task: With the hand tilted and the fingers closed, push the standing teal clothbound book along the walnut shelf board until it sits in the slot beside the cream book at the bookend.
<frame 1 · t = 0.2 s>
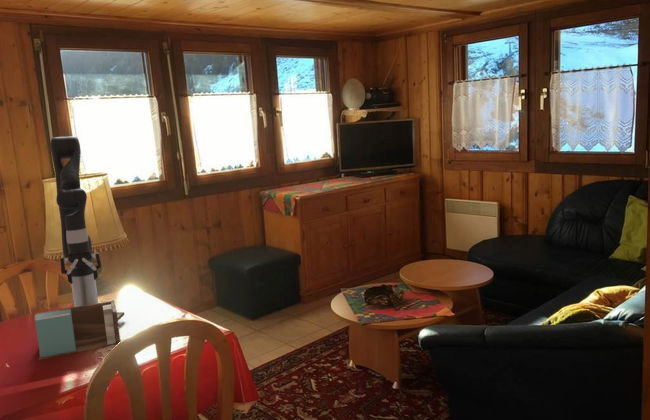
hand: (83, 281, 216), 18 cm above the table, tool pointing down, fingers open, 8 cm apart
puzzle game: (94, 328, 216), on the table
shelf: (80, 348, 197), on the table
book: (58, 351, 191), point 1 cm above the table, touching shelf
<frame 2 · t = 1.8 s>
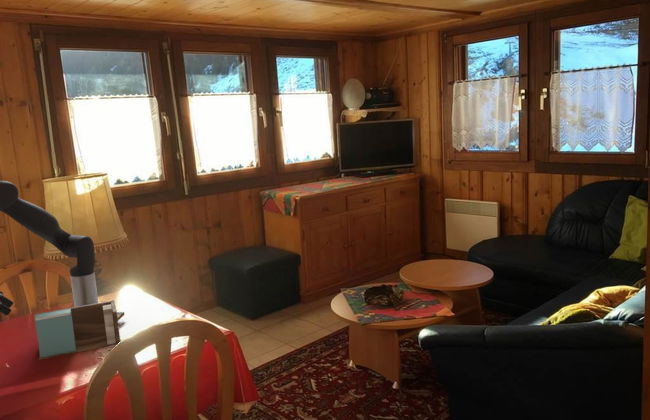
hand: (10, 309, 182), 20 cm above the table, tool tilted 45°, fingers open, 8 cm apart
nothing on the table moved.
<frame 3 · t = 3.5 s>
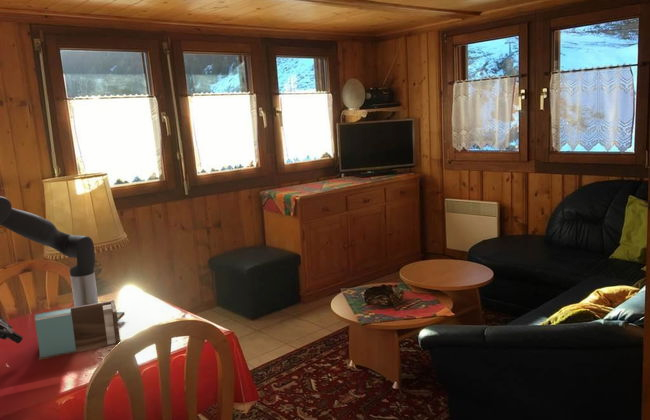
hand: (20, 340, 185), 8 cm above the table, tool tilted 45°, fingers closed
nothing on the table moved.
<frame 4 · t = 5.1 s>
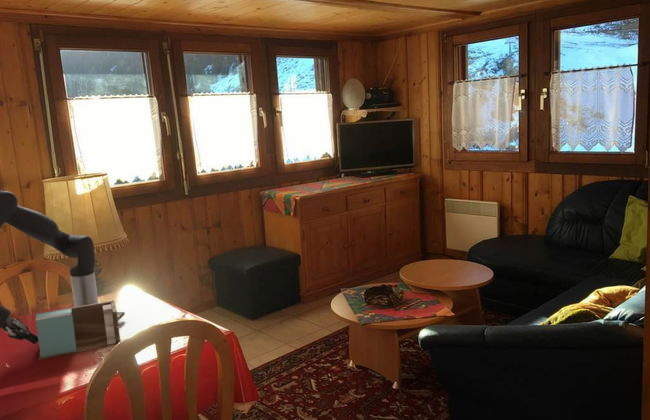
hand: (37, 341, 188), 7 cm above the table, tool tilted 45°, fingers closed
book: (59, 351, 191), point 2 cm above the table, touching gripper, shelf
everything else where it was.
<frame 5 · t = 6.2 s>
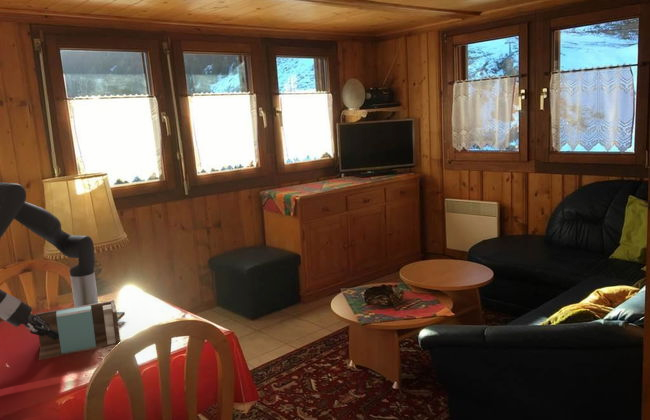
hand: (57, 337, 190), 7 cm above the table, tool tilted 45°, fingers closed
book: (78, 348, 193), point 2 cm above the table, touching gripper
everything else where it was.
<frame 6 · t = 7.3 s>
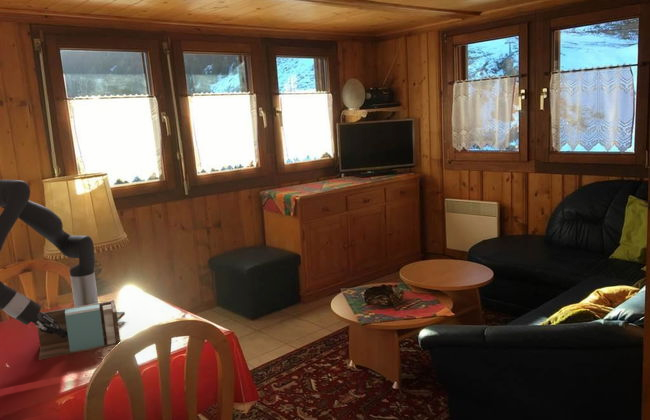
hand: (66, 335, 191), 7 cm above the table, tool tilted 45°, fingers closed
book: (87, 346, 194), point 1 cm above the table, touching gripper, shelf
everything else where it was.
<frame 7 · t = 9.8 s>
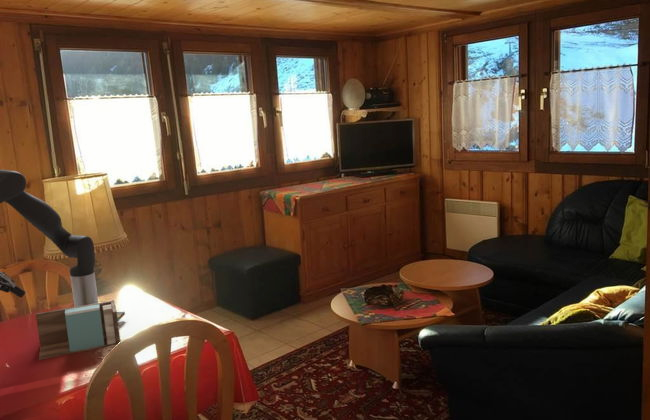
hand: (23, 294, 184), 24 cm above the table, tool tilted 45°, fingers closed
book: (87, 346, 194), point 1 cm above the table, touching shelf
everything else where it was.
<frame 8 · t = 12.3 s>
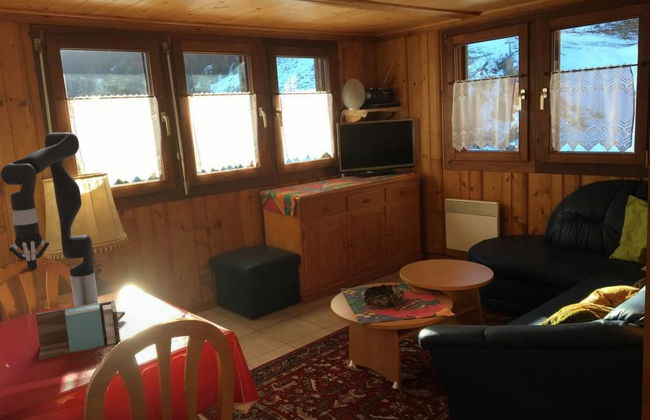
hand: (32, 270, 193), 29 cm above the table, tool pointing down, fingers closed
nothing on the table moved.
at the end: book 0.9 cm from the target spot, point 1.5 cm above the table; book tilted 0° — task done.
